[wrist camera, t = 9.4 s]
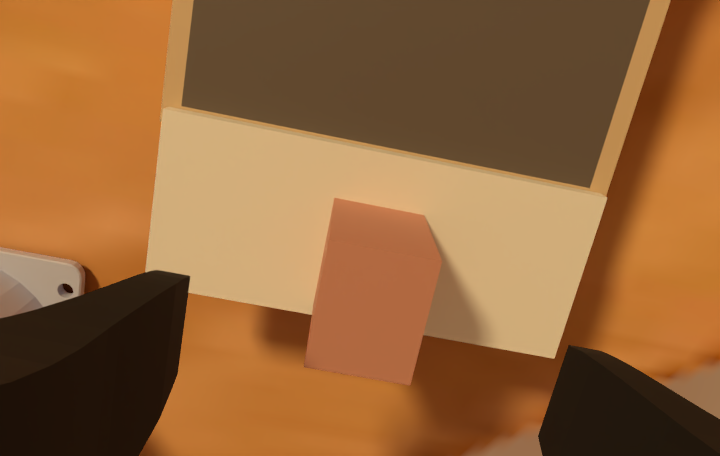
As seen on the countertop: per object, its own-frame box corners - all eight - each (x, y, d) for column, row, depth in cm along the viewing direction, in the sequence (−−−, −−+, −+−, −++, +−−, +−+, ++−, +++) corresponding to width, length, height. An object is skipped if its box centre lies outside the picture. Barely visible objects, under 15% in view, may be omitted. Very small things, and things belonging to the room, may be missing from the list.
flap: (549, 350, 18) (601, 434, 14) (149, 277, 17) (91, 346, 13) (600, 193, 17) (674, 240, 13) (168, 106, 16) (109, 128, 12)
